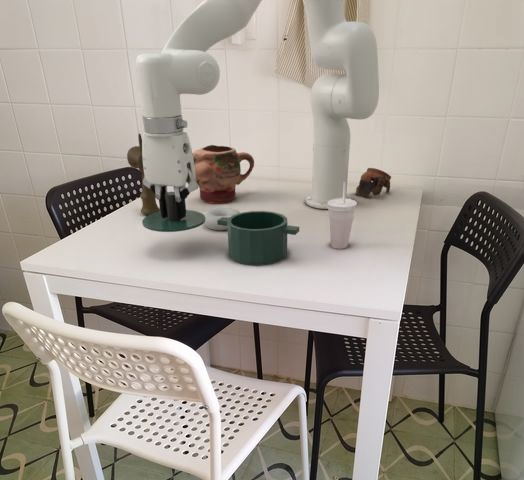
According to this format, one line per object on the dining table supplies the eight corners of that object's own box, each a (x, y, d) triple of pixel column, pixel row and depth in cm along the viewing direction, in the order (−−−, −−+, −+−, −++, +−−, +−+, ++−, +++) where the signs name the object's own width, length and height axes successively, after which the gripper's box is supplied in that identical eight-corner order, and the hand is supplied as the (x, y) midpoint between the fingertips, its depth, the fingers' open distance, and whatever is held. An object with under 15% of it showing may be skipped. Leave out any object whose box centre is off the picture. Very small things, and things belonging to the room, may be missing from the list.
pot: (234, 239, 118) (232, 207, 114) (306, 249, 111) (307, 215, 107) (208, 258, 108) (205, 224, 104) (286, 271, 102) (286, 235, 98)
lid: (165, 211, 117) (161, 182, 114) (216, 218, 112) (214, 188, 109) (129, 230, 107) (124, 198, 103) (185, 238, 102) (181, 205, 99)
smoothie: (335, 252, 109) (339, 187, 102) (319, 243, 114) (322, 180, 106) (359, 247, 112) (365, 182, 104) (342, 238, 116) (347, 176, 109)
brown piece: (348, 193, 149) (360, 166, 148) (375, 206, 152) (386, 179, 150) (364, 193, 138) (377, 163, 136) (392, 207, 141) (405, 178, 139)
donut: (197, 231, 123) (237, 232, 121) (196, 217, 121) (236, 218, 119) (209, 218, 131) (247, 219, 129) (208, 205, 129) (246, 206, 127)
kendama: (146, 219, 131) (134, 137, 120) (133, 210, 138) (121, 132, 127) (168, 215, 133) (158, 134, 123) (154, 206, 140) (143, 129, 129)
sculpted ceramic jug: (244, 188, 154) (242, 140, 147) (263, 198, 145) (262, 147, 138) (182, 198, 146) (177, 148, 139) (199, 209, 137) (194, 156, 130)
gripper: (208, 124, 99) (215, 216, 109) (140, 121, 105) (152, 208, 115) (189, 131, 93) (197, 227, 103) (117, 126, 99) (132, 218, 109)
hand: (173, 216), depth 109 cm, fingers closed on lid, 2 cm apart
